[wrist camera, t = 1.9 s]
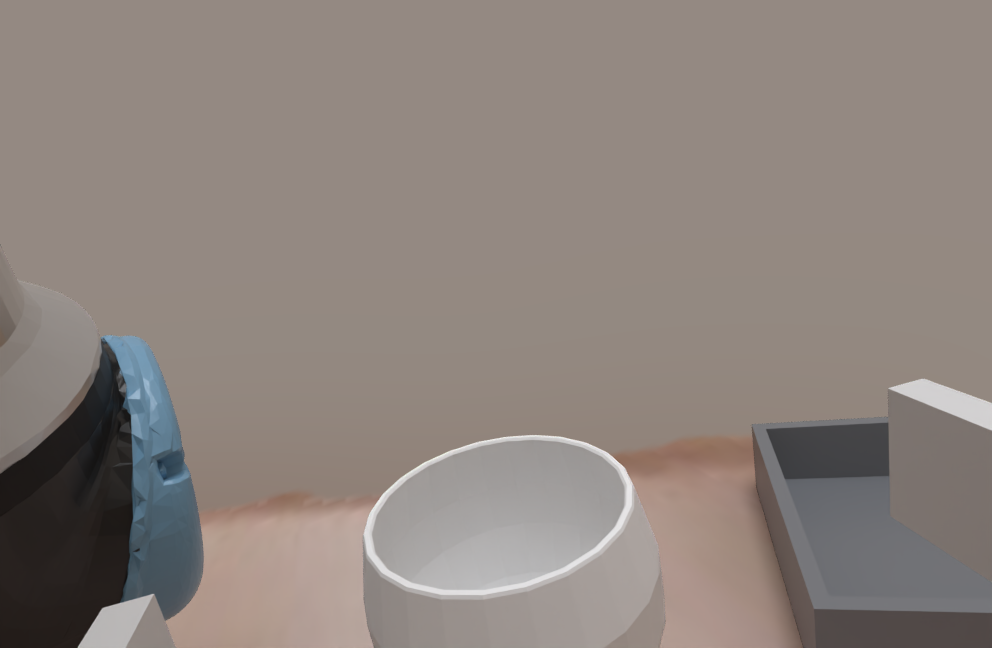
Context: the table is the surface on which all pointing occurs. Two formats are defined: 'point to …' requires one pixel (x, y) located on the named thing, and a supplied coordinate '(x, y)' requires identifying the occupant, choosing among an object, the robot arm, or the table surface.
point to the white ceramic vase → (513, 552)
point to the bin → (859, 544)
